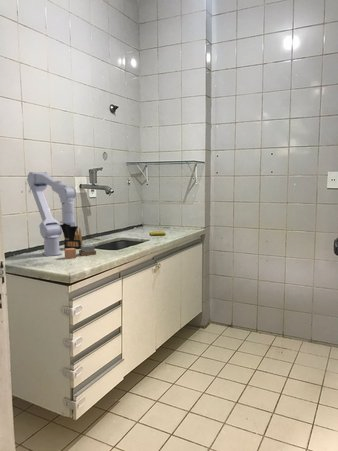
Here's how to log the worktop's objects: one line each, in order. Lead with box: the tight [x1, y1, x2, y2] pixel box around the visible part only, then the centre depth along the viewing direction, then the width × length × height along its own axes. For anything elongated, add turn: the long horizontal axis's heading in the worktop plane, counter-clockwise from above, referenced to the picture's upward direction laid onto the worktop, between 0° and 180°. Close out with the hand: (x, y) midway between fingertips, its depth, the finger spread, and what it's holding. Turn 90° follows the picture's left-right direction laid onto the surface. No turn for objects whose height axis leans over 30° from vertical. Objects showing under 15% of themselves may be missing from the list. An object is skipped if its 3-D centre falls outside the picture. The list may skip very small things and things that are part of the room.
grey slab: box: [80, 244, 96, 252], centre depth 196 cm, size 6×6×2 cm
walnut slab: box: [78, 249, 97, 257], centre depth 196 cm, size 7×7×2 cm
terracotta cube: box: [64, 248, 77, 260], centre depth 188 cm, size 4×4×4 cm
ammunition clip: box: [63, 227, 83, 250], centre depth 212 cm, size 11×2×12 cm, turn 74°
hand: (69, 239), depth 186 cm, fingers open, 7 cm apart
